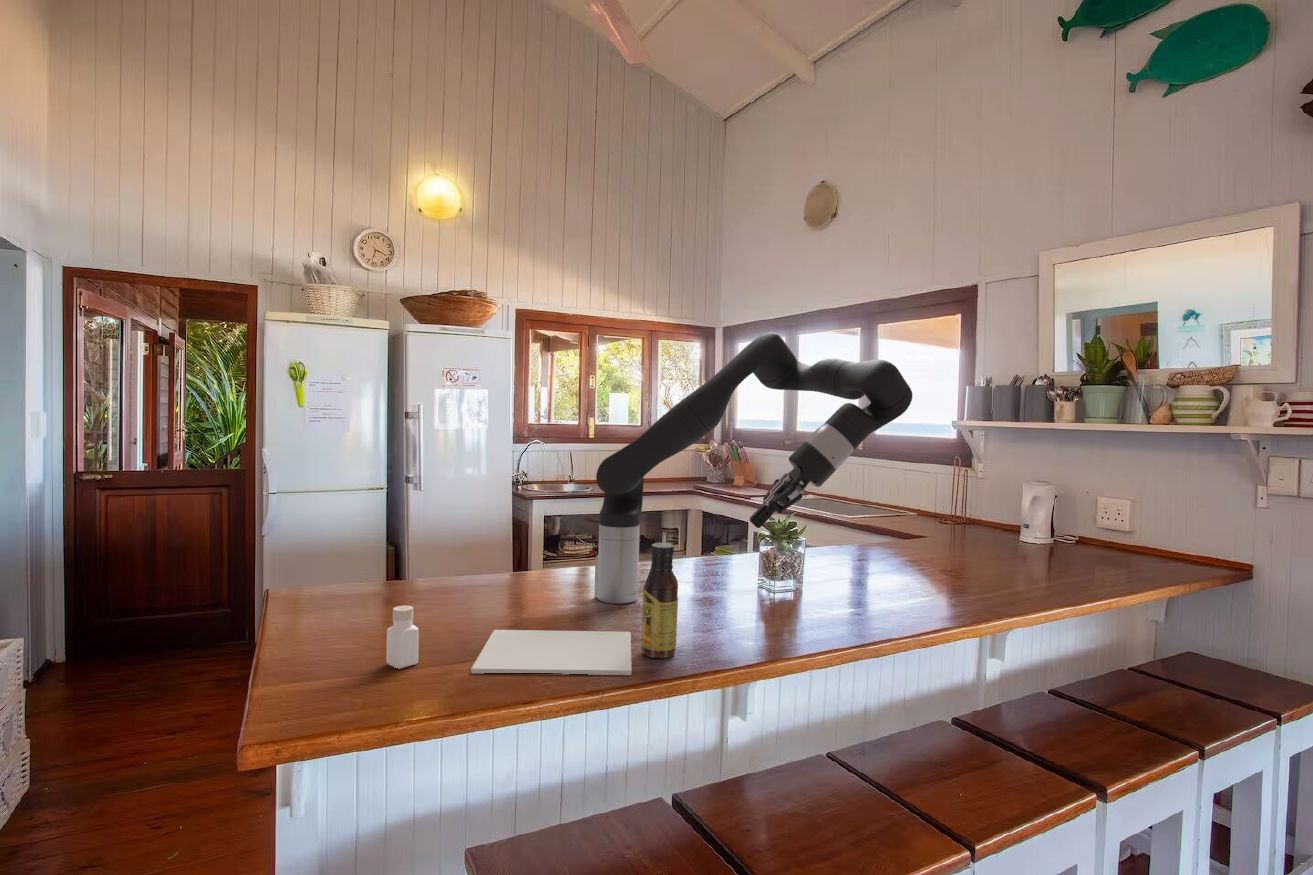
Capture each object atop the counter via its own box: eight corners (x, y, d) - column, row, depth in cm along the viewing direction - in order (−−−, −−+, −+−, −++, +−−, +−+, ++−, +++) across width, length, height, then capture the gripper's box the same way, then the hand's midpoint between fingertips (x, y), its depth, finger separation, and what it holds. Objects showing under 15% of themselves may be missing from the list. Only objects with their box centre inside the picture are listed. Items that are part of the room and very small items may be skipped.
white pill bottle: (406, 658, 120) (407, 603, 120) (419, 664, 118) (420, 608, 117) (384, 664, 117) (385, 608, 117) (397, 670, 115) (398, 612, 114)
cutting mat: (471, 673, 114) (471, 668, 114) (494, 633, 134) (494, 629, 134) (631, 675, 116) (631, 670, 116) (630, 635, 136) (630, 631, 135)
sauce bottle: (640, 648, 129) (643, 540, 128) (674, 648, 129) (677, 540, 128) (642, 660, 122) (645, 547, 121) (678, 660, 123) (681, 547, 122)
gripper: (847, 473, 119) (776, 546, 119) (825, 466, 132) (760, 532, 132) (816, 442, 119) (744, 515, 119) (797, 438, 132) (732, 504, 132)
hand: (753, 524), depth 125 cm, fingers closed
